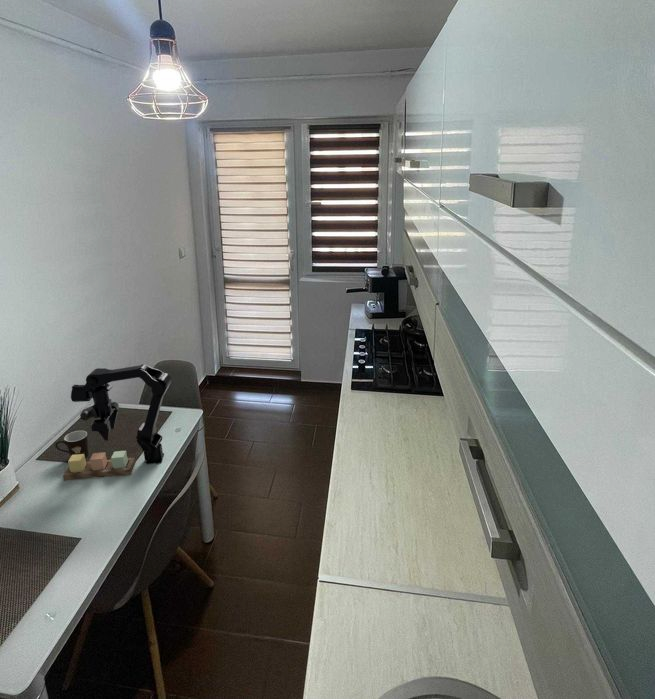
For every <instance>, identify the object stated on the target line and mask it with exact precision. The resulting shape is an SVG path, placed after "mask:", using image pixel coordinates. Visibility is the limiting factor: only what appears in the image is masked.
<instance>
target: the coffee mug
mask: <svg viewBox="0 0 655 699" xmlns="http://www.w3.org/2000/svg"><path fill="white" fill-rule="evenodd" d="M61 443H63V444H64V445H65V446H66V447H67V450H65V449H61V448H60V447H58V444H61ZM55 448H56V449H57V450H59V451H61V452H63V453H67V454H69V455H70V457H71V456H72V455H77V454H84V455H85V459H87V458H89V454H90V453H89V441H88V432H87V431H86V430H74V431H72V432H70V433H68V434H66V435H65V436H64V437H63V440H59V441H57V442H56V443H55Z"/></svg>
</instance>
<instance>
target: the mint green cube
mask: <svg viewBox="0 0 655 699" xmlns="http://www.w3.org/2000/svg"><path fill="white" fill-rule="evenodd" d="M128 458H129V457H128V454H127V450H118V451H113V454H112V455H111V457H110V459H111V460H112V465H113V469H120V468H126V467H127V463H128Z"/></svg>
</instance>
